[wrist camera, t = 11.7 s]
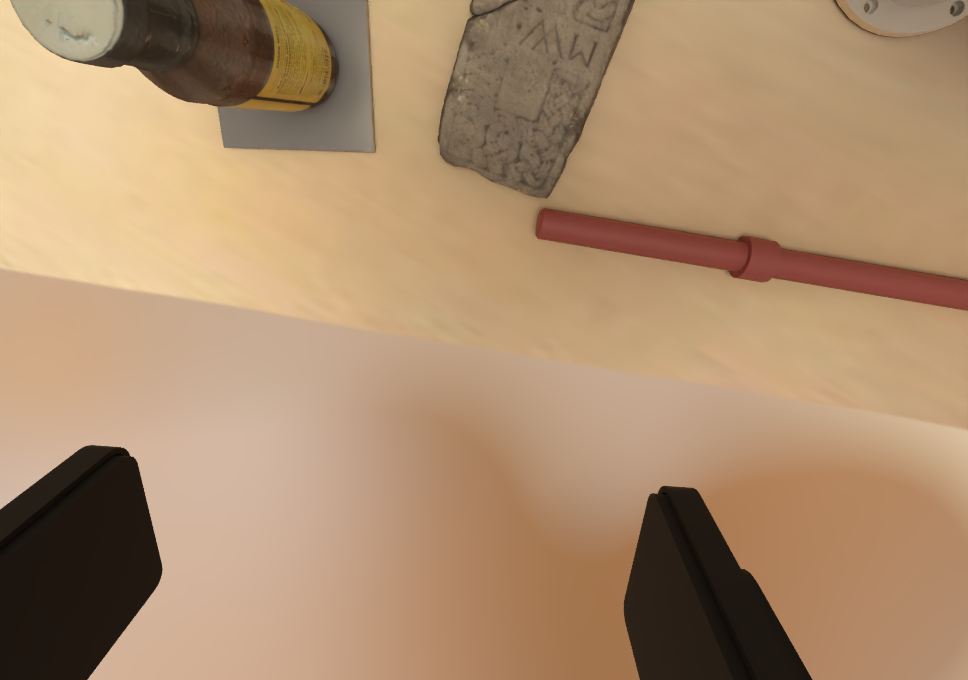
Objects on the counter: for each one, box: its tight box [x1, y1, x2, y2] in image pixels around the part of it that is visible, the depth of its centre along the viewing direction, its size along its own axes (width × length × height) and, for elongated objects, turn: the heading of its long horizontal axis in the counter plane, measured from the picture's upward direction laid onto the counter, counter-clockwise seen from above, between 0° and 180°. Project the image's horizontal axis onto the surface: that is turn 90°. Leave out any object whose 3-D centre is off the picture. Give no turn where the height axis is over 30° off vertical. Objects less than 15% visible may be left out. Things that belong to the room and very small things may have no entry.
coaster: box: [218, 0, 375, 152], centre depth 35 cm, size 11×11×1 cm
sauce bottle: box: [10, 0, 338, 112], centre depth 26 cm, size 6×6×20 cm
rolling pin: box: [536, 208, 968, 311], centre depth 39 cm, size 45×3×3 cm, turn 81°
